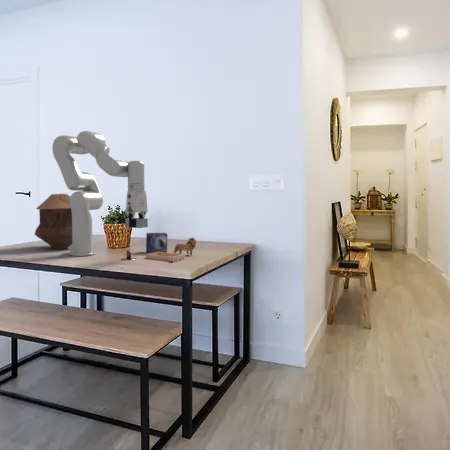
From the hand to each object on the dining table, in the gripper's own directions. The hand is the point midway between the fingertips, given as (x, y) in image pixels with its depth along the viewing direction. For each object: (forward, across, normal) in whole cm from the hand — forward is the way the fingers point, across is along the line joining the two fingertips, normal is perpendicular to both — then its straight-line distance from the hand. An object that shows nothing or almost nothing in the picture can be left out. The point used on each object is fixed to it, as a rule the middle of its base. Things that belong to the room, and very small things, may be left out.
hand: (136, 226), depth 189 cm
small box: (+16, +23, +6) cm, 28 cm away
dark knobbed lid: (+16, -2, +3) cm, 16 cm away
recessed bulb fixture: (0, 0, 0) cm, 0 cm away
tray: (+16, +9, -10) cm, 21 cm away
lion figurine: (+16, +23, -12) cm, 31 cm away
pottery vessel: (+15, +9, +60) cm, 63 cm away
